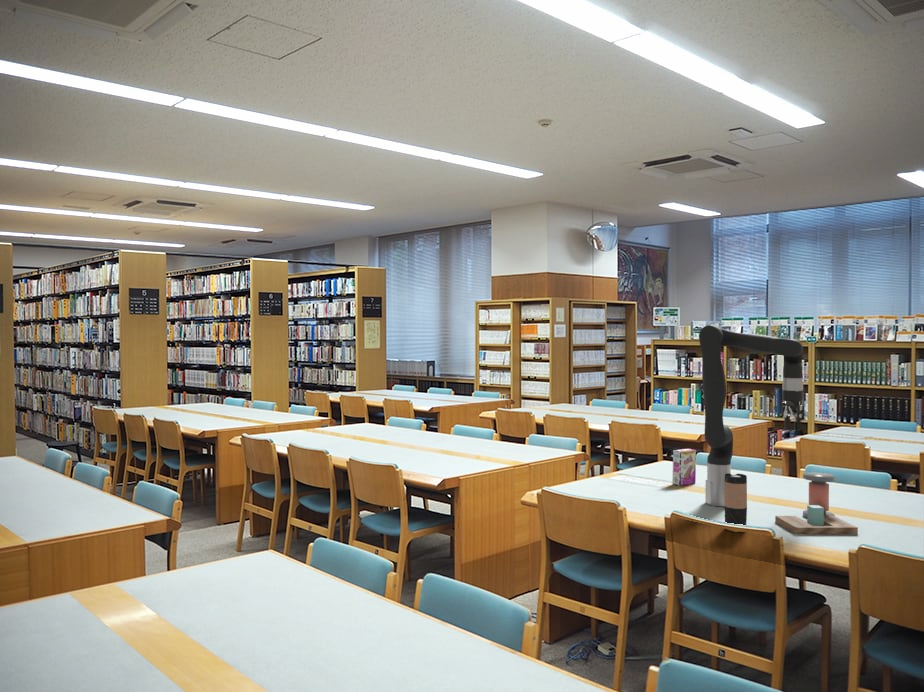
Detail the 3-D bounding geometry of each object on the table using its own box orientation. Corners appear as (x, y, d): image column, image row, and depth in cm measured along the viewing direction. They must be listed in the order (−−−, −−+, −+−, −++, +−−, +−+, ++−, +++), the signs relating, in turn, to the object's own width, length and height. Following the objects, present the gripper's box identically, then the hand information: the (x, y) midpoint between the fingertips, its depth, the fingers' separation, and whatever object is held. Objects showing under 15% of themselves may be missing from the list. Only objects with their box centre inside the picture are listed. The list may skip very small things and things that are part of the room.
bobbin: (811, 521, 260) (811, 478, 260) (797, 513, 271) (797, 472, 271) (840, 521, 260) (840, 478, 260) (825, 513, 271) (825, 472, 271)
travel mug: (739, 534, 243) (739, 478, 243) (720, 529, 250) (720, 474, 249) (751, 530, 248) (751, 475, 248) (732, 525, 254) (732, 472, 254)
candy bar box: (680, 486, 321) (680, 451, 320) (672, 484, 325) (672, 450, 325) (696, 483, 327) (696, 449, 326) (688, 481, 331) (688, 448, 331)
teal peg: (812, 529, 249) (812, 507, 249) (807, 526, 253) (807, 505, 253) (823, 529, 249) (823, 507, 249) (818, 526, 253) (818, 505, 253)
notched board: (795, 534, 243) (795, 527, 243) (775, 522, 259) (775, 515, 259) (857, 534, 243) (857, 527, 243) (833, 522, 259) (833, 515, 259)
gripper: (775, 387, 281) (775, 427, 281) (791, 390, 267) (791, 431, 267) (793, 387, 281) (793, 427, 281) (811, 390, 267) (810, 431, 267)
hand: (792, 429), depth 274 cm, fingers open, 8 cm apart
